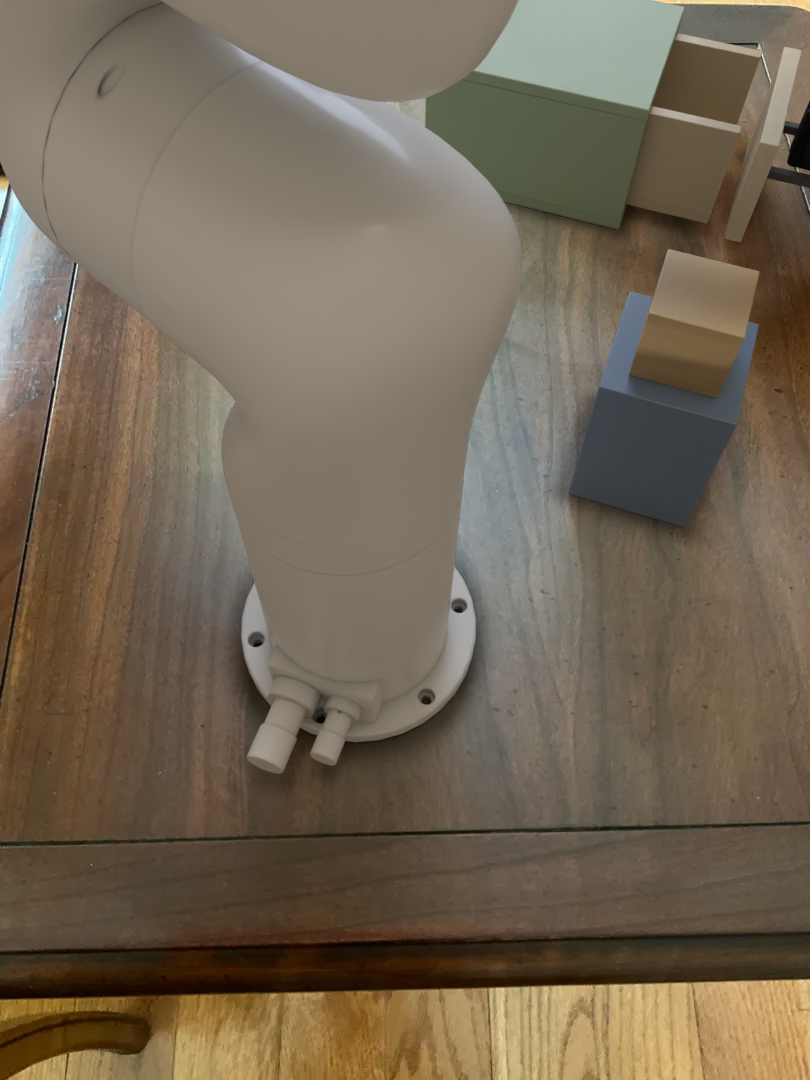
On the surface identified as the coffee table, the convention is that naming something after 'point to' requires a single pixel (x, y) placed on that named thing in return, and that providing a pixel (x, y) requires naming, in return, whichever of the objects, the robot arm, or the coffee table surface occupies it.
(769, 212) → the coffee table surface
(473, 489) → the coffee table surface
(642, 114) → the cabinet
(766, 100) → the drawer
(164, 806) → the coffee table surface
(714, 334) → the block
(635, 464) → the stand
